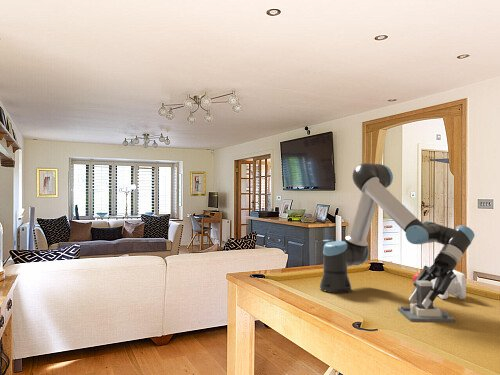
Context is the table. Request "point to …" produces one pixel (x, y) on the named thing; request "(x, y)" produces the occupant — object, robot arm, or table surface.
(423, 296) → the tall square peg
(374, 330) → the table surface
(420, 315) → the board
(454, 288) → the white notched block
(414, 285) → the apple
